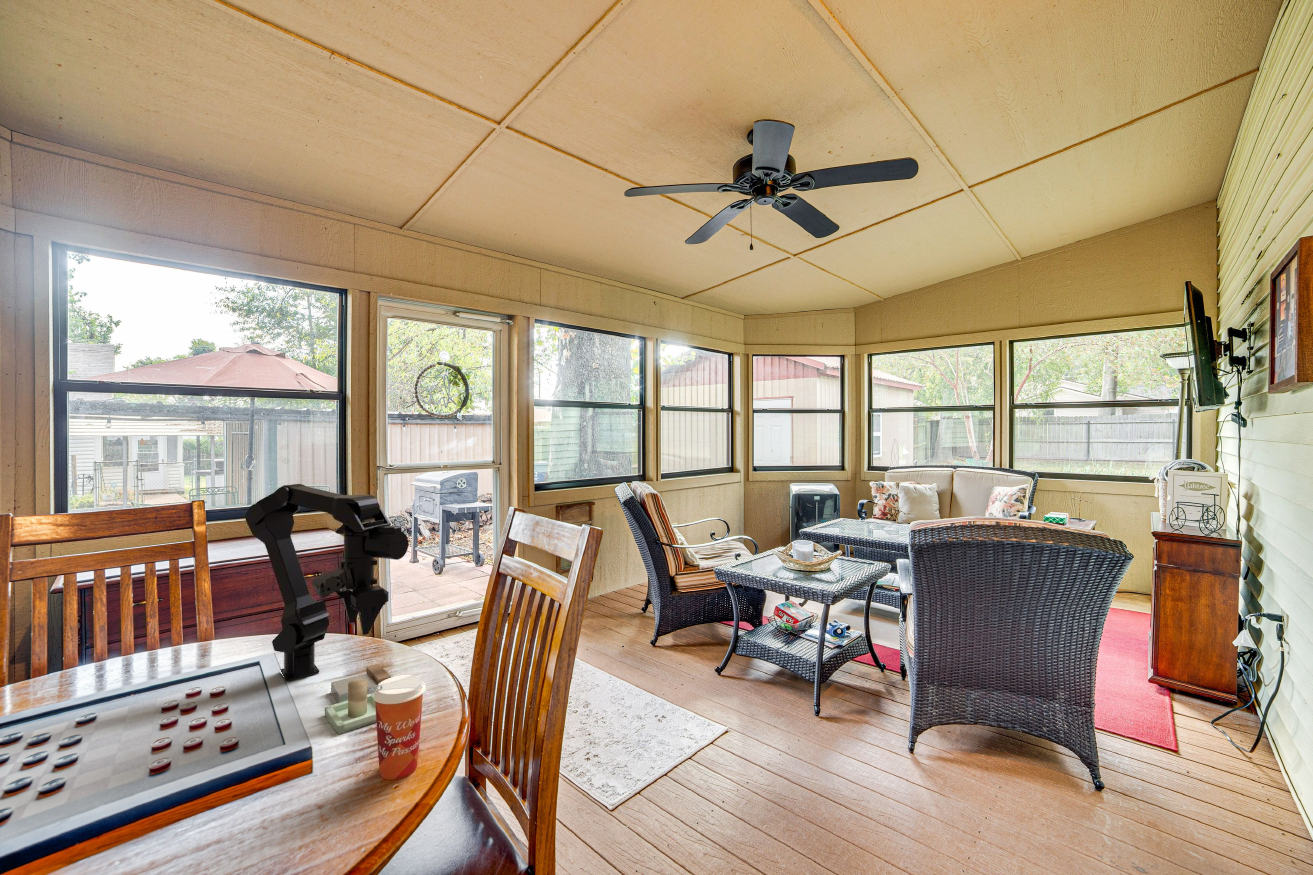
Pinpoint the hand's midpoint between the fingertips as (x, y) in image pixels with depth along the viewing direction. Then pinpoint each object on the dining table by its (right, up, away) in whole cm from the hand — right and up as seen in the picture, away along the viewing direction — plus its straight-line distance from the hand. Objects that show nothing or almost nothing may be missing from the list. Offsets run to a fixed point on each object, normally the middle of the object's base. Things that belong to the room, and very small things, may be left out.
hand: (358, 628), depth 120 cm
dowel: (+6, -12, -13) cm, 19 cm away
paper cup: (+22, -13, -28) cm, 38 cm away
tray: (+6, -13, -13) cm, 19 cm away
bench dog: (+4, -12, 0) cm, 13 cm away
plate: (+1, -13, -4) cm, 13 cm away
